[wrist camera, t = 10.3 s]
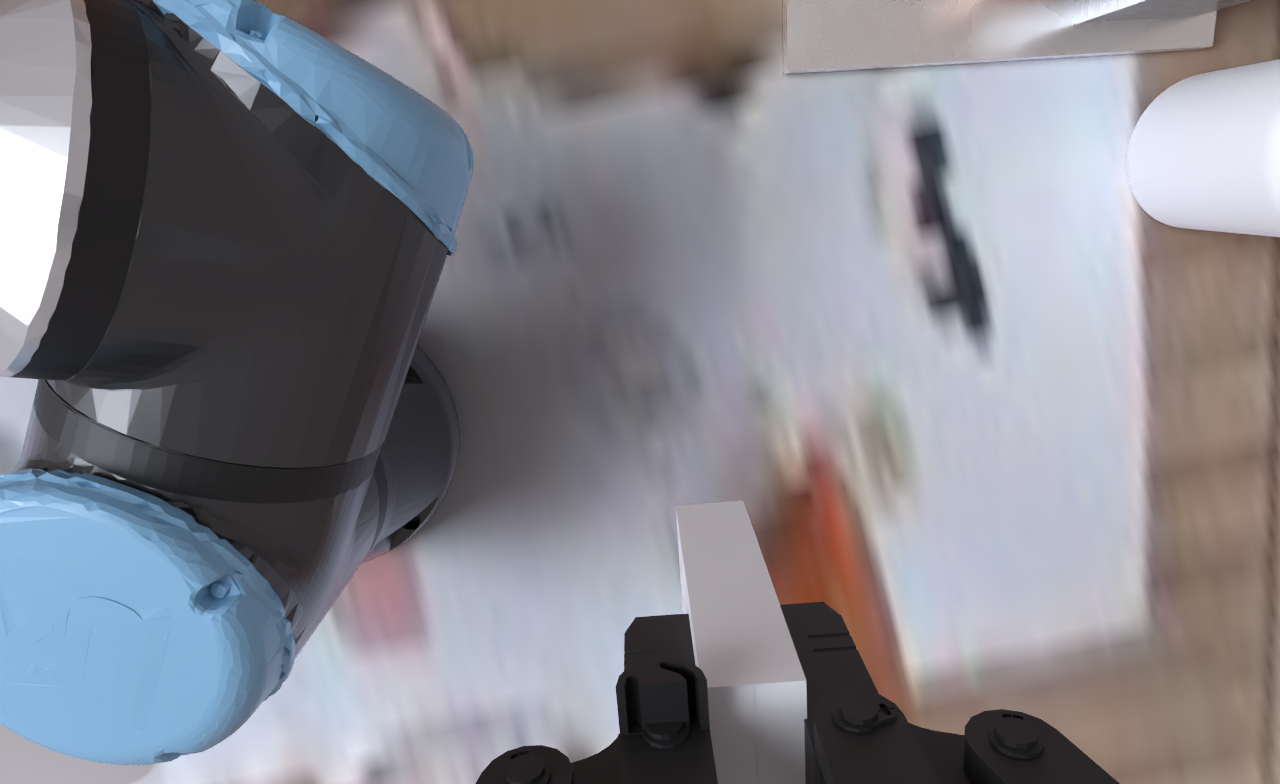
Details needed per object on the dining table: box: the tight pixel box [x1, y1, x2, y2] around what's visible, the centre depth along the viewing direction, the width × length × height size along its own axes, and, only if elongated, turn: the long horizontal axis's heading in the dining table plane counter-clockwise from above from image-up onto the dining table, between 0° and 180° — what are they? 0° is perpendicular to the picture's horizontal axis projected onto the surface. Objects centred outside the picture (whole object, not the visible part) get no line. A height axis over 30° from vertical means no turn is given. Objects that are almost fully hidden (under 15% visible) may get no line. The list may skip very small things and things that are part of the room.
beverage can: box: [1126, 59, 1280, 237], centre depth 38 cm, size 8×8×12 cm
